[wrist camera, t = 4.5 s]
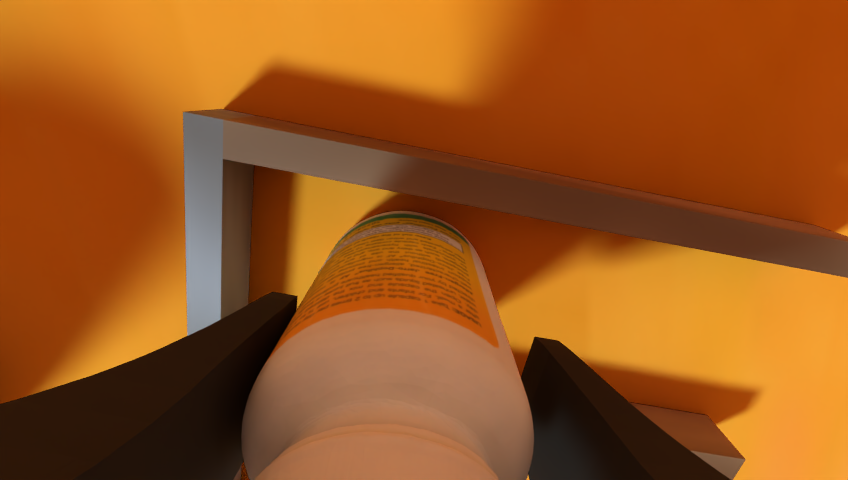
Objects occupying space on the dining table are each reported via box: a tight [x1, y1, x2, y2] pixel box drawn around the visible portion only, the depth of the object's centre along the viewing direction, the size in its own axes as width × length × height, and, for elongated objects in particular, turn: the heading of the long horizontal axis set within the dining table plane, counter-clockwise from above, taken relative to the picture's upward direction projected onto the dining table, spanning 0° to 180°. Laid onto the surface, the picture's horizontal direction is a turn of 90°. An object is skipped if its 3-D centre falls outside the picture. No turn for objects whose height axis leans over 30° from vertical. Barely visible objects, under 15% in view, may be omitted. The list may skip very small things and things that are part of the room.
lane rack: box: [183, 109, 848, 480], centre depth 14 cm, size 17×19×2 cm
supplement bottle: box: [241, 211, 534, 480], centre depth 9 cm, size 5×5×10 cm
